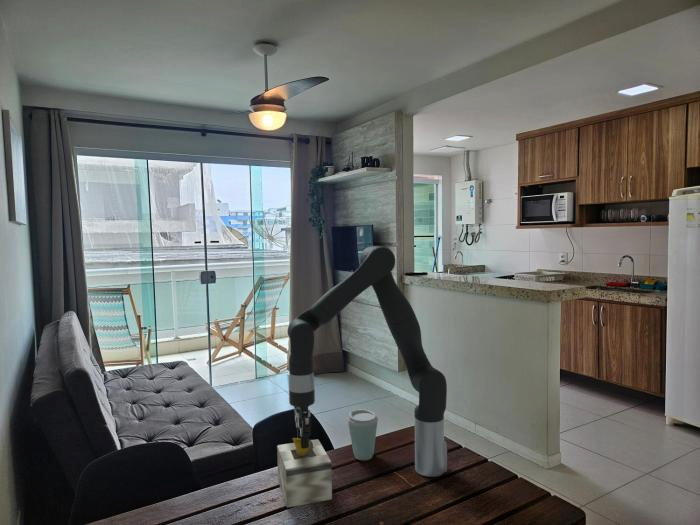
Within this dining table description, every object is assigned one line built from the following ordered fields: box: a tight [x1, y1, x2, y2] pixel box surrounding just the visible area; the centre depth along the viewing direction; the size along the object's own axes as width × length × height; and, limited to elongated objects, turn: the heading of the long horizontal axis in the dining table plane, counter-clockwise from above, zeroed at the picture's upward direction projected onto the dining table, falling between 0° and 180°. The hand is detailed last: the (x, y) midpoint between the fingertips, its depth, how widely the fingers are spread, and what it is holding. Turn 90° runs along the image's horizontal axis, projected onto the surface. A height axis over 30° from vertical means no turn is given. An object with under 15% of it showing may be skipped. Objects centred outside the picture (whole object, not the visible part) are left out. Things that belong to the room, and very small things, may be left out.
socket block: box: [276, 439, 333, 508], centre depth 140 cm, size 13×17×11 cm
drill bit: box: [291, 437, 314, 457], centre depth 139 cm, size 5×5×10 cm
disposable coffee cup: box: [346, 408, 379, 461], centre depth 160 cm, size 11×11×15 cm
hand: (303, 443), depth 140 cm, fingers closed on drill bit, 4 cm apart
